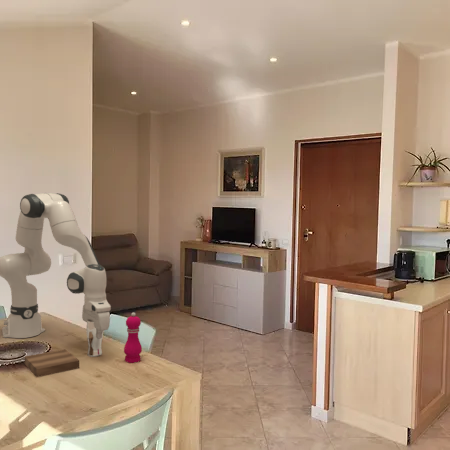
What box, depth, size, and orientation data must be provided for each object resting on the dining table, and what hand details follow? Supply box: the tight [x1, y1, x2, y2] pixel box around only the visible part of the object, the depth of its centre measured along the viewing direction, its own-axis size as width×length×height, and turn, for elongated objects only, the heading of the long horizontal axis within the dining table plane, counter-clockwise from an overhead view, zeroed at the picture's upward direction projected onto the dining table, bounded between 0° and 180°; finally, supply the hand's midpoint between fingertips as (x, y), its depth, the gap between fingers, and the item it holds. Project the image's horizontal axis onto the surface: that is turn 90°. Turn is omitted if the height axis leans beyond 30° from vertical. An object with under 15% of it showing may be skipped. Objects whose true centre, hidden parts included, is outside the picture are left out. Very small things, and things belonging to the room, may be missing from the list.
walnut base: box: [24, 348, 80, 378], centre depth 183 cm, size 16×16×3 cm
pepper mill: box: [123, 312, 143, 364], centre depth 191 cm, size 7×7×20 cm
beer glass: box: [85, 319, 105, 358], centre depth 197 cm, size 7×7×15 cm
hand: (94, 335), depth 197 cm, fingers closed on beer glass, 7 cm apart
